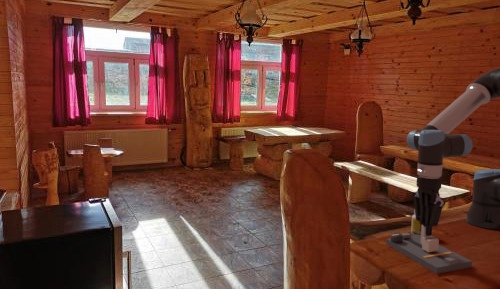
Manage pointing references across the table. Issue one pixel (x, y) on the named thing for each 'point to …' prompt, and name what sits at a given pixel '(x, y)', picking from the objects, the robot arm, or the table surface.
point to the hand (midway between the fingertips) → (425, 243)
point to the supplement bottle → (415, 226)
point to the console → (428, 254)
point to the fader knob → (430, 244)
